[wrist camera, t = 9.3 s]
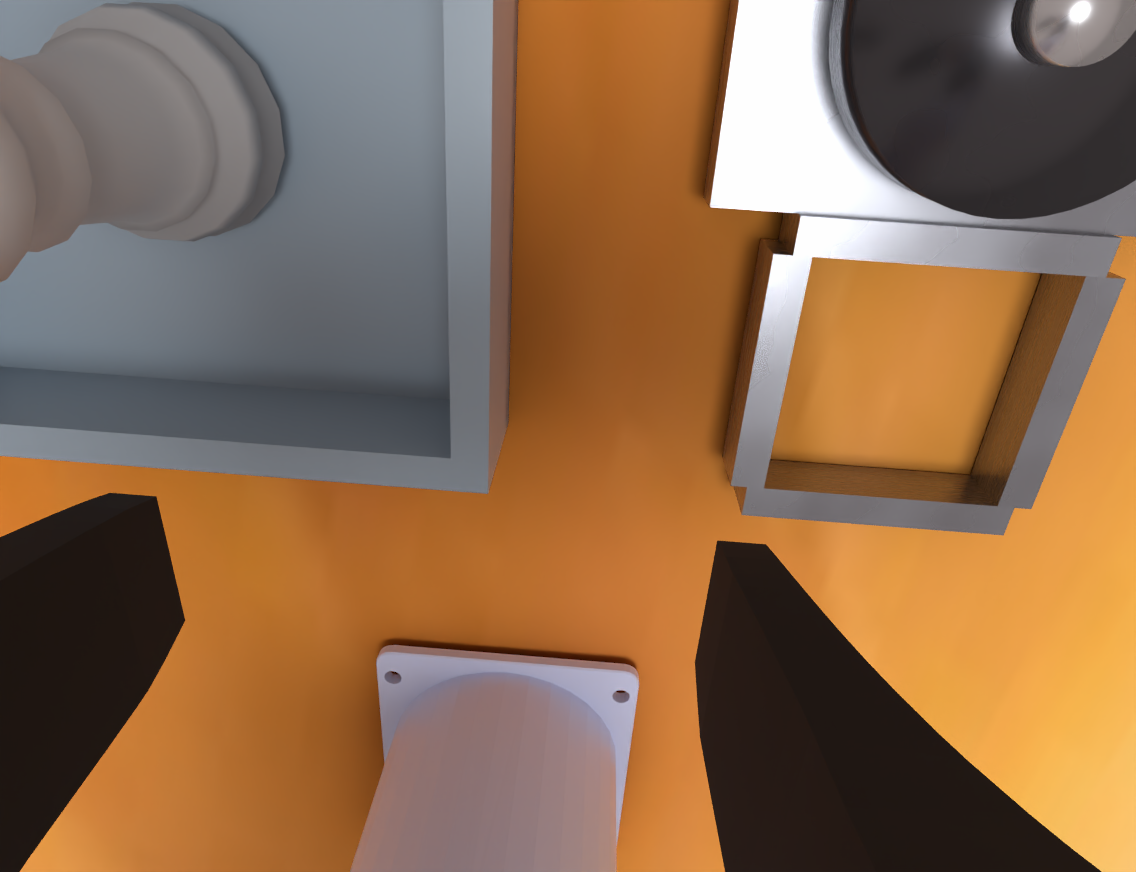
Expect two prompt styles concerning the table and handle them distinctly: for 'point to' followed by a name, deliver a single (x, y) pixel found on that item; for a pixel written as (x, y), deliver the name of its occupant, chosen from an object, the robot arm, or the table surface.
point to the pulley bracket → (927, 212)
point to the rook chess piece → (134, 131)
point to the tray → (298, 269)
